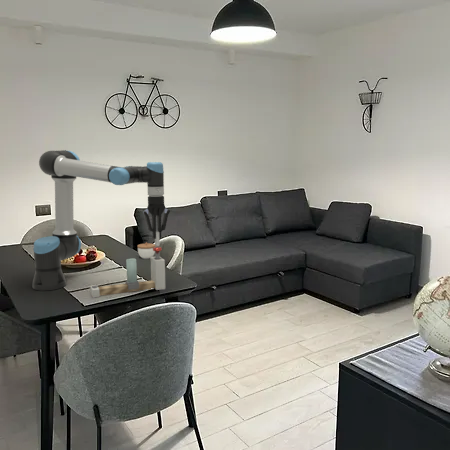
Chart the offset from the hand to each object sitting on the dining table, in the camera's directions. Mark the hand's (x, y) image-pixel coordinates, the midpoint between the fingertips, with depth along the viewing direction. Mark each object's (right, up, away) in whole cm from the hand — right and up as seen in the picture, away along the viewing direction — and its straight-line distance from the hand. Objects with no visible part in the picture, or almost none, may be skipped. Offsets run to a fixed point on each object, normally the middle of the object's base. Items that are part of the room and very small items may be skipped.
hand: (157, 245), depth 217 cm
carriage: (-11, -20, -2) cm, 23 cm away
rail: (-14, -21, -3) cm, 25 cm away
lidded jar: (-16, -10, +62) cm, 65 cm away
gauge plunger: (0, -12, +2) cm, 12 cm away
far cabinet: (0, -20, +3) cm, 20 cm away
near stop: (-27, -22, -9) cm, 36 cm away
